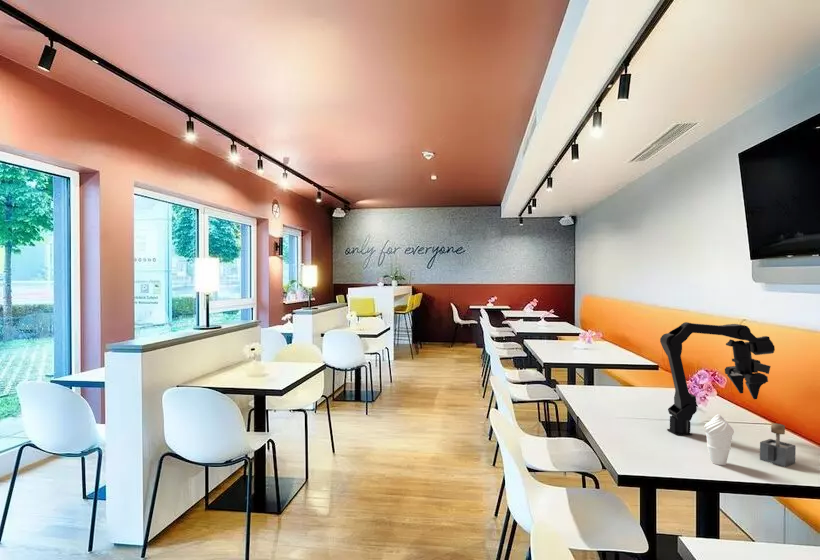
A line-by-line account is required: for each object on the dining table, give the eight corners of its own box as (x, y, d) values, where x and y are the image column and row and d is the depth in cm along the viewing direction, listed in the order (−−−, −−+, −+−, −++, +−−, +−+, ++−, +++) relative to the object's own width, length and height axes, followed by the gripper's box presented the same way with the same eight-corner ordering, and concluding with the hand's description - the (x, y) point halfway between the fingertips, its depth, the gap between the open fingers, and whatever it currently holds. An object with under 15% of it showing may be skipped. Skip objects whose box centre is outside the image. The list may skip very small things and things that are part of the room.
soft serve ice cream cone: (734, 470, 148) (735, 419, 148) (703, 464, 153) (704, 415, 153) (732, 461, 156) (733, 413, 156) (703, 456, 160) (704, 409, 160)
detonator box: (758, 460, 157) (758, 442, 157) (770, 456, 161) (770, 438, 161) (783, 467, 151) (783, 449, 151) (795, 463, 155) (795, 445, 155)
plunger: (764, 446, 157) (765, 423, 157) (772, 443, 160) (772, 421, 160) (783, 451, 153) (783, 428, 153) (790, 448, 155) (790, 425, 155)
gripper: (780, 358, 171) (786, 400, 171) (750, 350, 190) (756, 388, 189) (747, 361, 173) (753, 403, 173) (721, 353, 191) (726, 391, 191)
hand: (748, 396), depth 181 cm, fingers open, 9 cm apart
